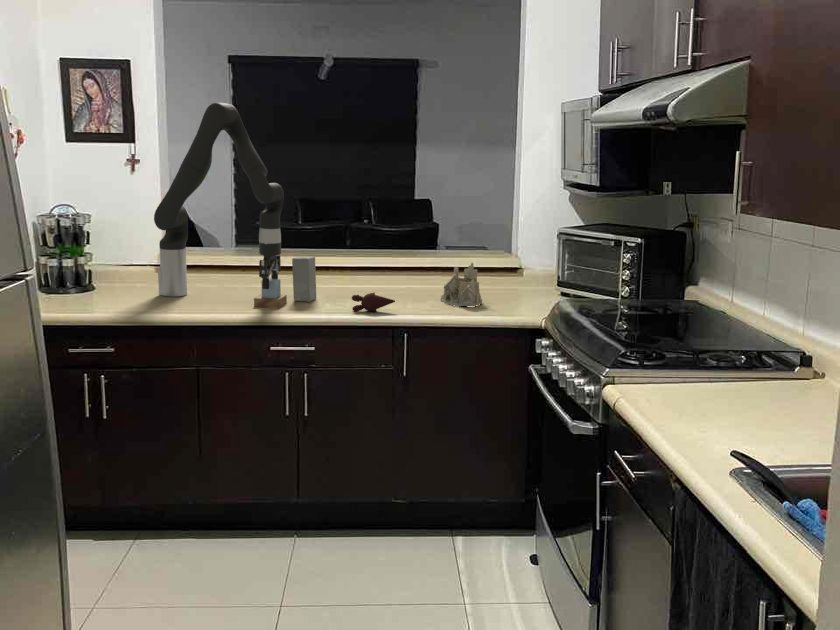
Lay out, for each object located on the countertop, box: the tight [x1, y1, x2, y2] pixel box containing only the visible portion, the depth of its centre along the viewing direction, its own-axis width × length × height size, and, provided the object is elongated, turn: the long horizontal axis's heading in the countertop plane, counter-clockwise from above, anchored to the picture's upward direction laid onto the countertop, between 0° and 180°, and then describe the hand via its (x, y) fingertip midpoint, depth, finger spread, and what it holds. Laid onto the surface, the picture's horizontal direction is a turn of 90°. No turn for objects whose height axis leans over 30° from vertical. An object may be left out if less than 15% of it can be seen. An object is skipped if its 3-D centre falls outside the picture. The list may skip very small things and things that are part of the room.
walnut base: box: [253, 293, 288, 309], centre depth 307 cm, size 9×9×4 cm
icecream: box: [351, 292, 396, 313], centre depth 300 cm, size 7×7×15 cm
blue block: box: [261, 277, 282, 298], centre depth 306 cm, size 5×5×6 cm
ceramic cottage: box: [440, 262, 483, 307], centre depth 318 cm, size 16×16×15 cm
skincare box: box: [291, 255, 317, 303], centre depth 316 cm, size 8×7×16 cm
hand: (270, 286), depth 306 cm, fingers open, 8 cm apart
